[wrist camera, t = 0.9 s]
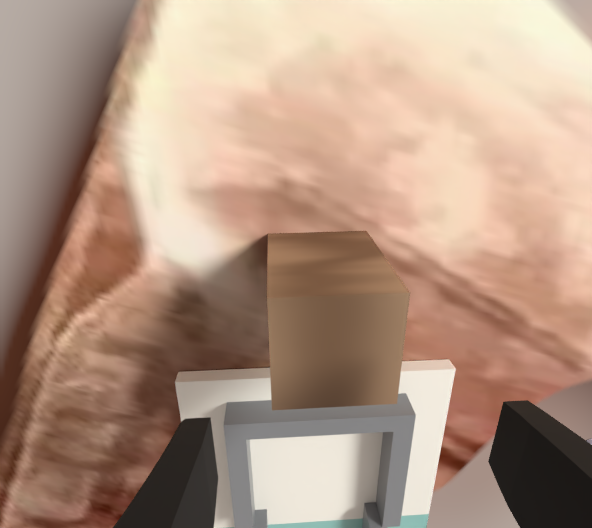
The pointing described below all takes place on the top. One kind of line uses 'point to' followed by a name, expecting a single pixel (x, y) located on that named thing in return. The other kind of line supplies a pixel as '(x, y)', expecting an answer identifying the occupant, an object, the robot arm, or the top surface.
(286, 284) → the walnut block
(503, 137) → the top surface
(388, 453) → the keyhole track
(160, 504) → the robot arm
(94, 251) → the top surface
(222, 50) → the top surface
